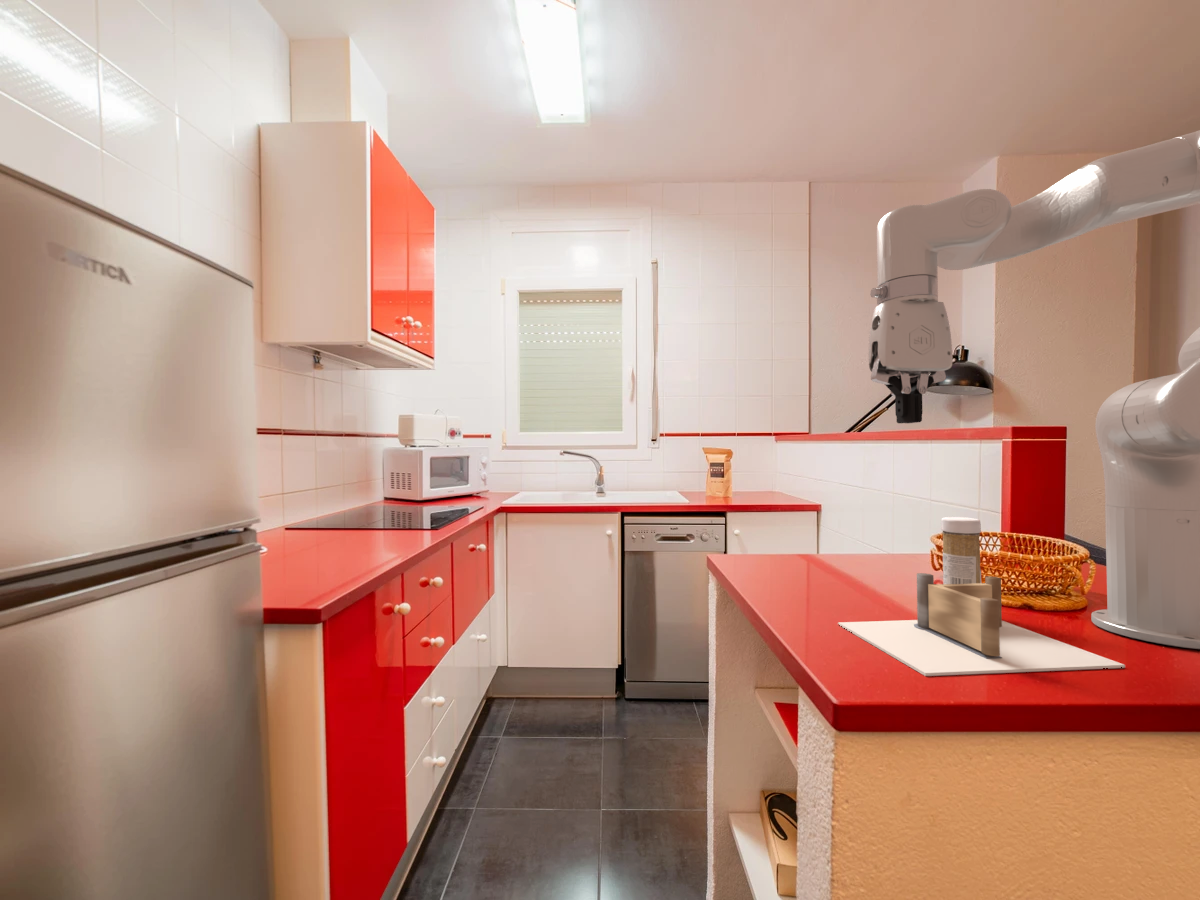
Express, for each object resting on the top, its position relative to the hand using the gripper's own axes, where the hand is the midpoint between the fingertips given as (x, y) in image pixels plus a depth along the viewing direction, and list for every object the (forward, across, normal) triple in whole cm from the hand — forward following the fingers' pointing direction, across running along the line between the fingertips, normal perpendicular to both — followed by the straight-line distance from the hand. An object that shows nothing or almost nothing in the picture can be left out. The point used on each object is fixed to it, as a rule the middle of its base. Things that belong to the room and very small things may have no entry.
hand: (909, 422), depth 74 cm
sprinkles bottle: (+27, +6, -2) cm, 28 cm away
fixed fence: (+27, +1, -8) cm, 28 cm away
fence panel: (+26, -4, -14) cm, 30 cm away
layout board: (+27, -3, -13) cm, 30 cm away
